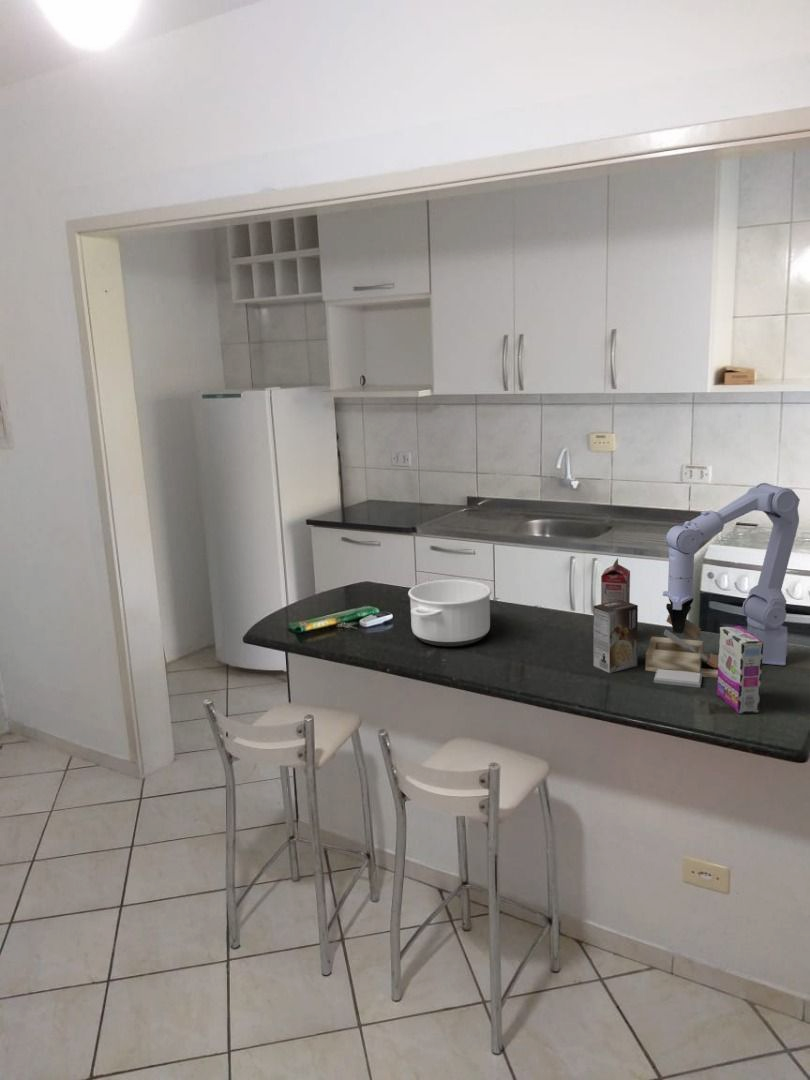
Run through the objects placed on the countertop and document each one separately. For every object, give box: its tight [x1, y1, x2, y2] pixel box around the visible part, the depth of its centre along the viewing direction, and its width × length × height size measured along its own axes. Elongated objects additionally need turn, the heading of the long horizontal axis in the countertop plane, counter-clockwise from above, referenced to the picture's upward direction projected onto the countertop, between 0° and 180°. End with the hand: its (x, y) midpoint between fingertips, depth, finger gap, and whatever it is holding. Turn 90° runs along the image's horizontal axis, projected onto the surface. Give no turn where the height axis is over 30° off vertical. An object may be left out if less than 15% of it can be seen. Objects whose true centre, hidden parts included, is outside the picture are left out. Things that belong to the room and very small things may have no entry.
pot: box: [407, 579, 492, 647], centre depth 238 cm, size 33×23×14 cm
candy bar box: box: [716, 625, 763, 715], centre depth 186 cm, size 11×5×16 cm, turn 5°
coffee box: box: [592, 600, 639, 674], centre depth 211 cm, size 9×6×16 cm
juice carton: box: [600, 557, 631, 604], centre depth 229 cm, size 7×7×22 cm
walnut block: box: [666, 614, 702, 640], centre depth 206 cm, size 8×4×2 cm
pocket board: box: [644, 636, 719, 679], centre depth 211 cm, size 17×13×4 cm
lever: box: [663, 629, 718, 670], centre depth 210 cm, size 15×6×2 cm
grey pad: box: [653, 669, 703, 689], centre depth 202 cm, size 10×6×1 cm, turn 68°
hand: (678, 629), depth 207 cm, fingers closed on walnut block, 4 cm apart
